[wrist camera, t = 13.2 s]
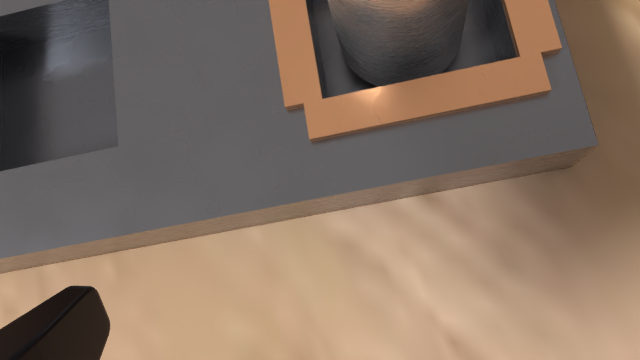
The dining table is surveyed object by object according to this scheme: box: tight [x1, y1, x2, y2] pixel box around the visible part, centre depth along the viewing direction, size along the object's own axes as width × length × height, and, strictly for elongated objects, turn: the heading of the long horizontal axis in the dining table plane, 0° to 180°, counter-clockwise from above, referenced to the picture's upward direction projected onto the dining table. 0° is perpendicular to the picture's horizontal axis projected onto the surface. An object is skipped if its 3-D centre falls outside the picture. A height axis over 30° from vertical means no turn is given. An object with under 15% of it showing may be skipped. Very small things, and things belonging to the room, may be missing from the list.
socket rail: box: [0, 0, 598, 273], centre depth 19 cm, size 22×12×3 cm, turn 99°
